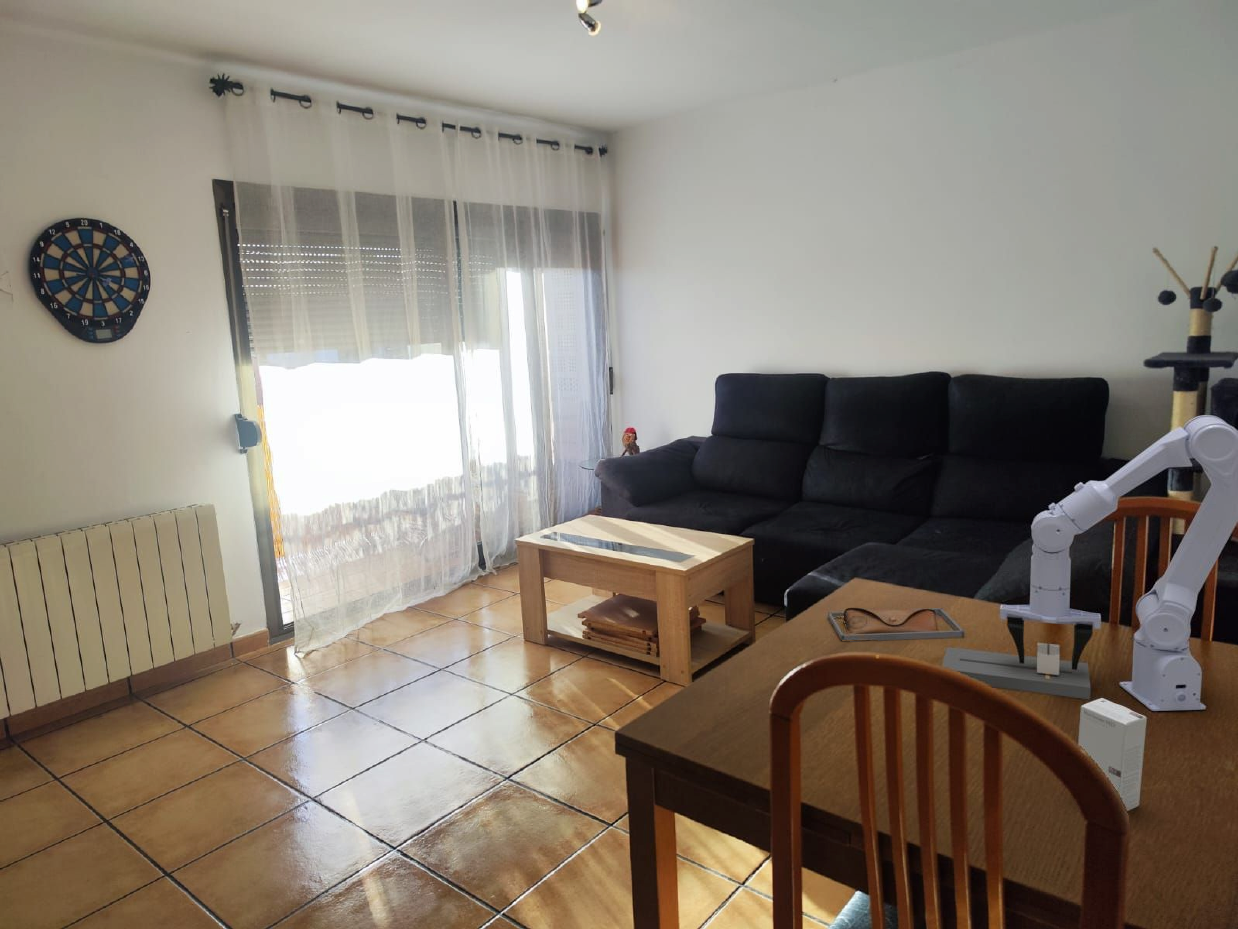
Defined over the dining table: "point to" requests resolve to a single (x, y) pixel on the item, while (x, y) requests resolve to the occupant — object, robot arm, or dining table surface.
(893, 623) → the sunglasses case
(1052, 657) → the fader
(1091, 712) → the skincare box
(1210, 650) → the dining table surface
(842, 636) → the case rim
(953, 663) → the fader panel
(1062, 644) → the dining table surface
